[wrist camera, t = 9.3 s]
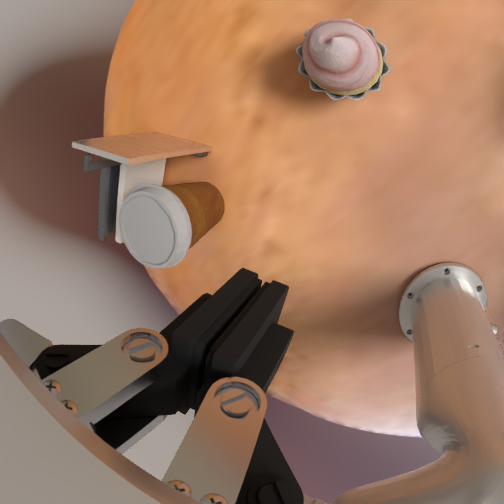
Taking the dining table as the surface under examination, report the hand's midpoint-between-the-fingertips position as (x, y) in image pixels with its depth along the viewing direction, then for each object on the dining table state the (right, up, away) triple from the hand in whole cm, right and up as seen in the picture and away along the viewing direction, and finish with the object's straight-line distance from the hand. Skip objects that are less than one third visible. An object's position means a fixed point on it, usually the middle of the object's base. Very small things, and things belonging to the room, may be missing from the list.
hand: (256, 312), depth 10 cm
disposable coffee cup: (-7, +9, +30) cm, 32 cm away
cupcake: (+10, +22, +17) cm, 30 cm away
